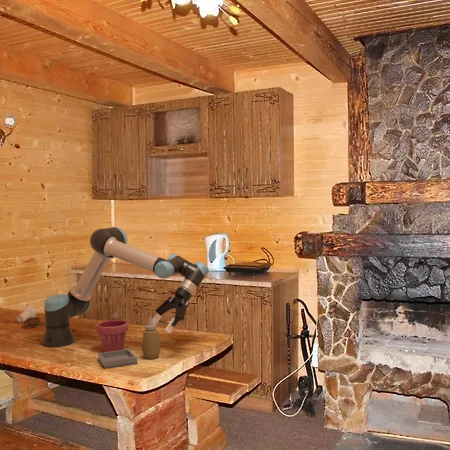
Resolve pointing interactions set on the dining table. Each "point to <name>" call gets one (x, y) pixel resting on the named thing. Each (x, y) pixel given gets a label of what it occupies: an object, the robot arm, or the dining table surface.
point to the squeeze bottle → (150, 341)
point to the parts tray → (117, 358)
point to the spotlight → (27, 313)
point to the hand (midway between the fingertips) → (158, 329)
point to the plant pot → (112, 334)
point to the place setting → (33, 322)
